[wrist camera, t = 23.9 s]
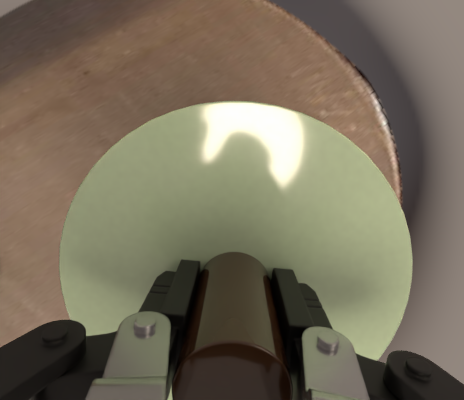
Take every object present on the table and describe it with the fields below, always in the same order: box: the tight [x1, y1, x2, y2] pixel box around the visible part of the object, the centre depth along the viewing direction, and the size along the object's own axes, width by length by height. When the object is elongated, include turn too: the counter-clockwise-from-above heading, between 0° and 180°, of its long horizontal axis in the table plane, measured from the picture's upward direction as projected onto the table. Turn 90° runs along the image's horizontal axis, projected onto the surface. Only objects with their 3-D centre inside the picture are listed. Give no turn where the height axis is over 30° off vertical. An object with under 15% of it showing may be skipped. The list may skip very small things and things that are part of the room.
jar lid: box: [59, 101, 412, 400], centre depth 10 cm, size 14×14×6 cm
